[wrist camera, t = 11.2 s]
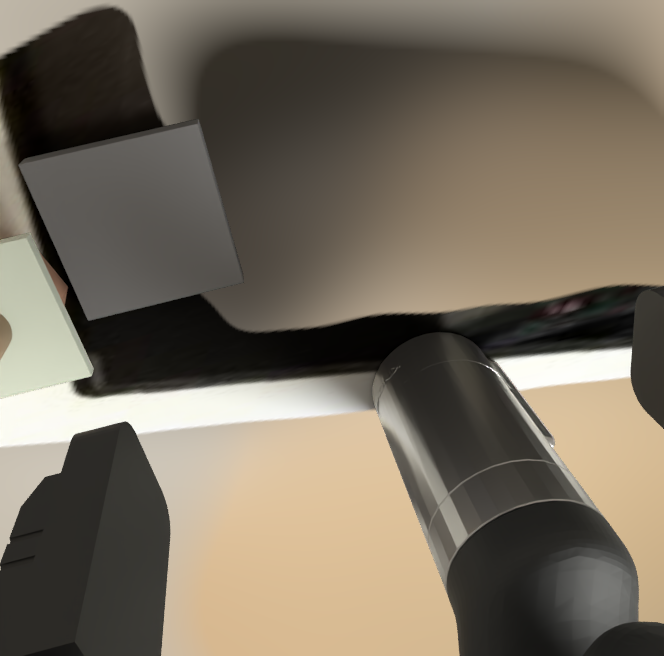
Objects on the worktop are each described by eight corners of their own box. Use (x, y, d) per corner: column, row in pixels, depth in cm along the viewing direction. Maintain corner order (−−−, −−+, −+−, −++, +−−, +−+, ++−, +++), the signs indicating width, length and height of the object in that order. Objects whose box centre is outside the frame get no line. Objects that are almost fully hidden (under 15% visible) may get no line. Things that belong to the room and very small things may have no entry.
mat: (198, 118, 36) (197, 123, 34) (243, 273, 41) (243, 282, 39) (25, 158, 35) (18, 164, 34) (92, 309, 40) (88, 320, 39)
